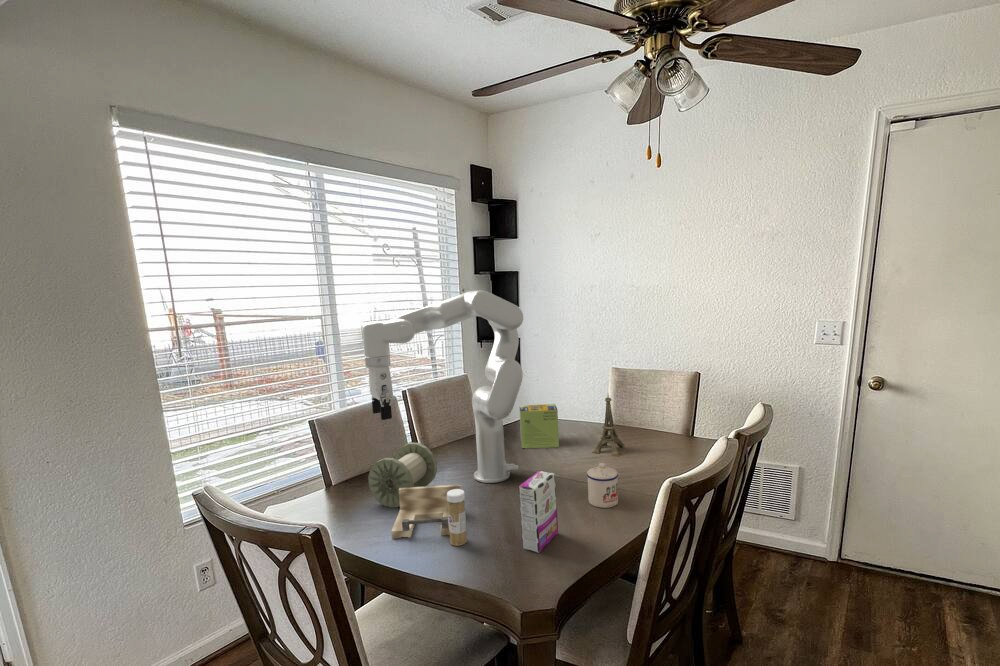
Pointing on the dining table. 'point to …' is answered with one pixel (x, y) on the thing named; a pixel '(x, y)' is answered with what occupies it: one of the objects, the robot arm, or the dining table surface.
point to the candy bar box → (538, 511)
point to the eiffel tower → (613, 436)
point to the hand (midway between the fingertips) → (382, 415)
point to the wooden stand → (422, 508)
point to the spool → (402, 473)
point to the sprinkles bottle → (457, 517)
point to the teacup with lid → (602, 486)
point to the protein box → (539, 426)
